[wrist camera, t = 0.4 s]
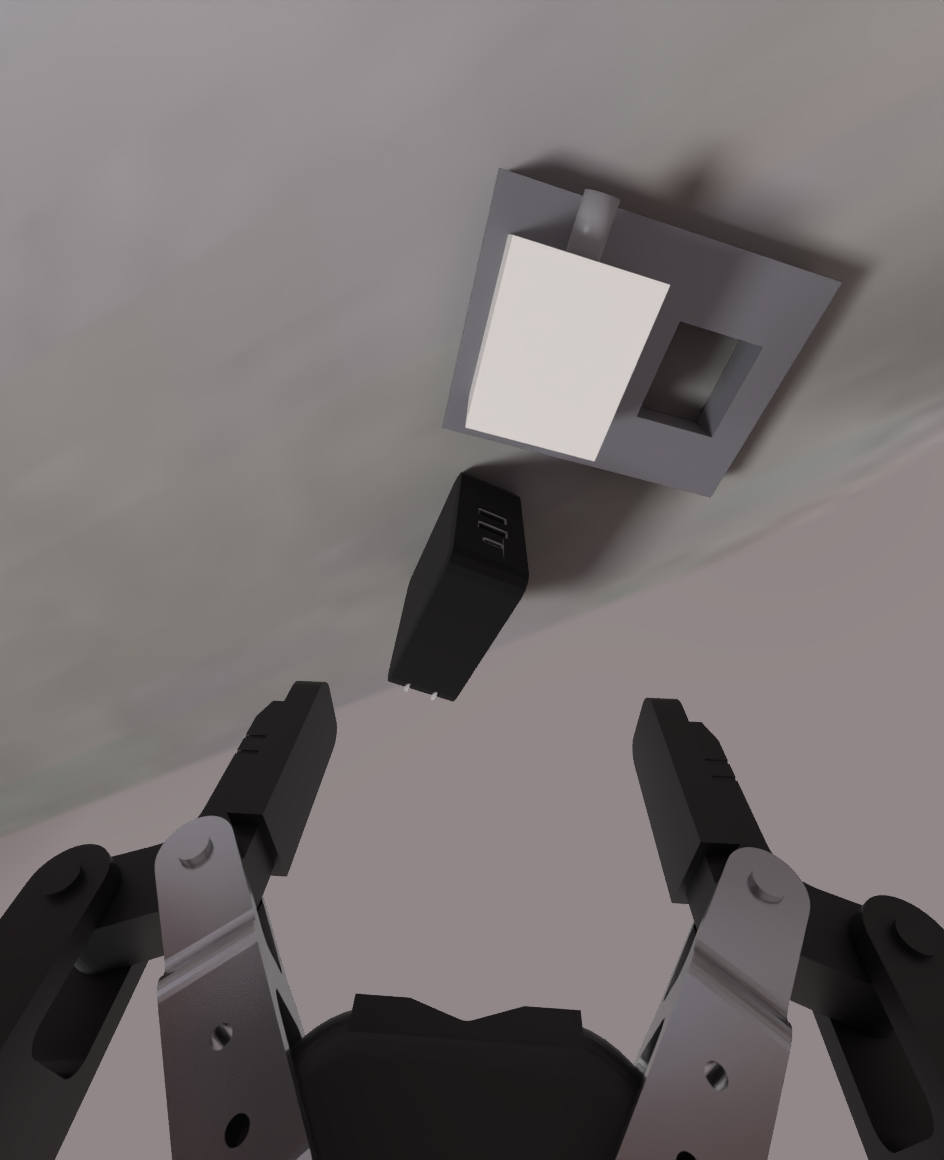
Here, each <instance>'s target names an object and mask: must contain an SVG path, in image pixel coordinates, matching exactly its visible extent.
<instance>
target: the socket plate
mask: <svg viewBox="0 0 944 1160" xmlns="http://www.w3.org/2000/svg"><path fill="white" fill-rule="evenodd" d="M582 197H583V196H582V195H579V194H576V193H573V192H570V191H567V190H564V189H561V188H558V187H555V186H552V185H549V184H546V183H543V182H540V181H537V180H534V179H531V178H528V177H525V176H522V175H519V174H516V173H513V172H511V171H508V170H505V169H502V168H499V170H498V175H497V179H496V184H495V188H494V193H493V198H492V202H491V207H490V211H489V216H488V220H487V225H486V230H485V234H484V239H483V243H482V248H481V252H480V257H479V262H478V266H477V271H476V275H475V280H474V284H473V289H472V294H471V298H470V303H469V307H468V312H467V316H466V321H465V326H464V330H463V335H462V339H461V344H460V348H459V353H458V358H457V362H456V367H455V371H454V376H453V380H452V385H451V390H450V394H449V399H448V403H447V408H446V412H445V417H444V422H443V426H442V428H446V429H450V430H454V431H457V432H461V433H465V434H469V435H473V436H477V437H480V438H484V439H488V440H492V441H496V442H500V443H503V444H507V445H511V446H515V447H519V448H522V449H526V450H530V451H534V452H538V453H542V454H545V455H549V456H553V457H557V458H561V459H565V460H568V461H572V462H576V463H580V464H584V465H588V466H591V467H595V468H599V469H603V470H607V471H611V472H614V473H618V474H622V475H626V476H630V477H633V478H637V479H641V480H645V481H649V482H653V483H656V484H660V485H664V486H668V487H672V488H676V489H679V490H683V491H687V492H691V493H695V494H699V495H702V496H706V497H710V498H711V496H712V495H713V493H714V491H715V490H716V488H717V486H718V485H719V483H720V482H721V480H722V478H723V477H724V475H725V473H726V472H727V470H728V468H729V467H730V465H731V464H732V462H733V460H734V459H735V457H736V455H737V454H738V452H739V450H740V449H741V447H742V446H743V444H744V442H745V441H746V439H747V437H748V436H749V434H750V432H751V431H752V429H753V428H754V426H755V424H756V423H757V421H758V419H759V418H760V416H761V414H762V413H763V411H764V410H765V408H766V406H767V405H768V403H769V401H770V400H771V398H772V396H773V395H774V393H775V392H776V390H777V388H778V387H779V385H780V383H781V382H782V380H783V378H784V377H785V375H786V374H787V372H788V370H789V369H790V367H791V365H792V364H793V362H794V360H795V359H796V357H797V356H798V354H799V352H800V351H801V349H802V347H803V346H804V344H805V342H806V341H807V339H808V338H809V336H810V334H811V333H812V331H813V329H814V328H815V326H816V324H817V323H818V321H819V320H820V318H821V316H822V315H823V313H824V311H825V310H826V308H827V306H828V305H829V303H830V302H831V300H832V298H833V297H834V295H835V293H836V292H837V290H838V288H839V287H840V285H841V284H842V282H839V281H836V280H833V279H830V278H827V277H824V276H821V275H818V274H815V273H812V272H809V271H806V270H803V269H800V268H797V267H794V266H791V265H788V264H785V263H782V262H779V261H776V260H773V259H770V258H767V257H764V256H761V255H758V254H755V253H752V252H749V251H746V250H743V249H740V248H737V247H734V246H731V245H728V244H725V243H722V242H720V241H717V240H714V239H711V238H708V237H705V236H702V235H699V234H696V233H693V232H690V231H687V230H684V229H681V228H678V227H675V226H672V225H669V224H666V223H663V222H660V221H657V220H654V219H651V218H648V217H645V216H642V215H639V214H636V213H633V212H630V211H627V210H624V209H621V208H618V209H617V212H616V215H615V218H614V221H613V223H612V226H611V229H610V232H609V235H608V238H607V241H606V244H605V247H604V250H603V252H602V255H601V258H600V261H599V262H600V263H603V264H606V265H609V266H612V267H616V268H619V269H622V270H625V271H628V272H631V273H634V274H638V275H641V276H644V277H647V278H650V279H653V280H656V281H660V282H663V283H666V284H669V285H670V287H669V289H668V292H667V294H666V296H665V299H664V301H663V303H662V306H661V308H660V310H659V313H658V315H657V317H656V319H655V322H654V324H653V326H652V329H651V331H650V333H649V336H648V338H647V340H646V343H645V345H644V347H643V350H642V352H641V354H640V357H639V359H638V361H637V364H636V366H635V368H634V371H633V373H632V375H631V378H630V380H629V382H628V385H627V387H626V389H625V392H624V394H623V396H622V399H621V401H620V403H619V406H618V408H617V410H616V413H615V415H614V417H613V420H612V422H611V424H610V427H609V429H608V431H607V434H606V436H605V438H604V441H603V443H602V445H601V448H600V450H599V452H598V455H597V457H596V459H595V461H591V460H587V459H583V458H579V457H576V456H572V455H568V454H564V453H560V452H557V451H553V450H549V449H545V448H541V447H538V446H534V445H530V444H526V443H522V442H519V441H515V440H511V439H507V438H503V437H500V436H496V435H492V434H488V433H484V432H481V431H477V430H473V429H469V428H465V425H466V417H467V409H468V400H469V394H470V390H471V386H472V381H473V377H474V373H475V369H476V365H477V361H478V357H479V353H480V349H481V344H482V340H483V336H484V332H485V328H486V324H487V320H488V316H489V311H490V307H491V303H492V299H493V295H494V291H495V287H496V283H497V279H498V274H499V270H500V266H501V262H502V258H503V254H504V250H505V246H506V241H507V237H508V234H511V235H515V236H518V237H521V238H524V239H528V240H531V241H534V242H537V243H540V244H543V245H546V246H550V247H553V248H556V249H559V250H562V251H565V252H566V249H567V246H568V243H569V239H570V236H571V233H572V230H573V226H574V223H575V220H576V217H577V213H578V210H579V207H580V203H581V200H582ZM680 321H681V322H684V323H687V324H690V325H693V326H697V327H700V328H703V329H706V330H710V331H713V332H716V333H719V334H723V335H726V336H729V337H732V338H736V339H739V340H740V341H739V343H738V345H737V347H736V349H735V351H734V352H733V354H732V356H731V358H730V360H729V362H728V364H727V365H726V367H725V369H724V371H723V373H722V375H721V377H720V379H719V380H718V382H717V384H716V386H715V388H714V390H713V392H712V393H711V395H710V397H709V399H708V401H707V403H706V405H705V407H704V408H703V410H702V412H701V414H700V416H699V418H698V420H697V422H692V421H689V420H685V419H682V418H678V417H675V416H671V415H667V414H664V413H660V412H657V411H653V410H650V409H646V408H643V407H641V406H642V403H643V401H644V399H645V397H646V395H647V392H648V390H649V388H650V386H651V384H652V382H653V379H654V377H655V375H656V373H657V371H658V368H659V366H660V364H661V362H662V360H663V357H664V355H665V353H666V351H667V349H668V347H669V344H670V342H671V340H672V338H673V336H674V333H675V331H676V329H677V327H678V325H679V322H680Z"/></svg>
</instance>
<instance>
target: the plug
mask: <svg viewBox="0 0 944 1160" xmlns="http://www.w3.org/2000/svg"><path fill="white" fill-rule="evenodd" d="M619 203H620V199H618V198H616V197H614V196H611V195H608V194H605V193H602V192H599V191H595V190H591V189H585V190H584V194H583V197H582V200H581V203H580V207H579V210H578V213H577V217H576V220H575V223H574V226H573V230H572V233H571V236H570V239H569V243H568V246H567V249H566V252H565V251H562V250H559V249H556V248H553V247H550V246H546V245H543V244H540V243H537V242H534V241H531V240H528V239H524V238H521V237H518V236H515V235H511V234H508V237H507V241H506V246H505V250H504V254H503V258H502V262H501V266H500V270H499V274H498V279H497V283H496V287H495V291H494V295H493V299H492V303H491V307H490V311H489V316H488V320H487V324H486V328H485V332H484V336H483V340H482V344H481V349H480V353H479V357H478V361H477V365H476V369H475V373H474V377H473V381H472V386H471V390H470V394H469V400H468V409H467V417H466V425H465V428H469V429H473V430H477V431H481V432H484V433H488V434H492V435H496V436H500V437H503V438H507V439H511V440H515V441H519V442H522V443H526V444H530V445H534V446H538V447H541V448H545V449H549V450H553V451H557V452H560V453H564V454H568V455H572V456H576V457H579V458H583V459H587V460H591V461H595V459H596V457H597V455H598V452H599V450H600V448H601V445H602V443H603V441H604V438H605V436H606V434H607V431H608V429H609V427H610V424H611V422H612V420H613V417H614V415H615V413H616V410H617V408H618V406H619V403H620V401H621V399H622V396H623V394H624V392H625V389H626V387H627V385H628V382H629V380H630V378H631V375H632V373H633V371H634V368H635V366H636V364H637V361H638V359H639V357H640V354H641V352H642V350H643V347H644V345H645V343H646V340H647V338H648V336H649V333H650V331H651V329H652V326H653V324H654V322H655V319H656V317H657V315H658V313H659V310H660V308H661V306H662V303H663V301H664V299H665V296H666V294H667V292H668V289H669V287H670V285H669V284H666V283H663V282H660V281H656V280H653V279H650V278H647V277H644V276H641V275H638V274H634V273H631V272H628V271H625V270H622V269H619V268H616V267H612V266H609V265H606V264H603V263H600V262H599V261H600V258H601V255H602V252H603V250H604V247H605V244H606V241H607V238H608V235H609V232H610V229H611V226H612V223H613V221H614V218H615V215H616V212H617V209H618V206H619Z"/></svg>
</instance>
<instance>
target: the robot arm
mask: <svg viewBox="0 0 944 1160" xmlns="http://www.w3.org/2000/svg"><path fill="white" fill-rule="evenodd" d="M336 734H337V723H336V718H335V713H334V708H333V703H332V698H331V694H330V689H329V685H328V683H326V682H312V681H296V682H295V683H294V684H293V686H292V688H291V689H290V691H289V693H288V695H287V697H286V699H285V701H273V702H271V703H270V704H269V705H268V706H267V707H266V708H265V709H264V710H263V711H262V712H260V713H259V714H258V715H257V716H256V718H255V719H254V721H253V723H252V725H251V727H250V728H249V730H248V732H247V734H246V738H244V739H243V741H242V742H241V744H240V746H239V748H238V749H237V750H238V752H237V753H236V754H235V755H234V757H233V758H232V760H231V762H230V764H229V765H228V767H227V769H226V771H225V773H224V774H223V776H222V778H221V780H220V781H219V783H218V785H217V787H216V788H215V790H214V792H213V794H212V796H211V797H210V799H209V801H208V803H207V804H206V806H205V808H204V809H203V811H202V813H201V814H200V815H199V817H198V818H196V819H194V820H192V821H189V822H188V823H186V824H184V825H182V826H181V827H180V828H178V829H177V830H176V831H174V832H173V833H172V834H171V835H170V836H169V837H168V838H167V839H166V841H165V842H164V843H162V844H159V845H155V846H152V847H148V848H144V849H140V850H137V851H132V852H129V853H125V854H121V855H117V856H113V857H111V856H110V855H109V853H108V852H107V851H106V849H105V848H103V847H101V846H99V845H94V844H87V845H80V846H76V847H73V848H70V849H68V850H66V851H64V852H62V853H60V854H58V855H57V856H55V857H53V858H52V859H51V860H49V861H48V862H47V863H45V864H44V865H43V866H42V867H41V868H39V869H38V870H37V871H36V872H35V873H34V874H33V876H32V877H31V878H30V879H29V881H28V882H27V883H26V885H25V886H24V887H23V889H22V890H21V891H20V893H19V894H18V895H17V897H16V898H15V900H14V901H13V902H12V904H11V905H10V906H9V908H8V909H7V910H6V912H5V913H4V915H3V916H2V917H1V919H0V1160H55V1158H56V1156H57V1154H58V1151H59V1149H60V1147H61V1145H62V1143H63V1141H64V1139H65V1137H66V1135H67V1133H68V1130H69V1128H70V1126H71V1124H72V1122H73V1120H74V1118H75V1116H76V1113H77V1111H78V1109H79V1107H80V1105H81V1103H82V1100H83V1099H84V1096H85V1094H86V1092H87V1090H88V1088H89V1086H90V1084H91V1082H92V1079H93V1077H94V1075H95V1073H96V1071H97V1068H98V1067H99V1065H100V1062H101V1060H102V1058H103V1056H104V1054H105V1051H106V1050H107V1048H108V1045H109V1043H110V1041H111V1039H112V1037H113V1035H114V1033H115V1030H116V1028H117V1026H118V1024H119V1022H120V1020H121V1018H122V1016H123V1014H124V1011H125V1009H126V1007H127V1005H128V1003H129V1001H130V999H131V997H132V994H133V992H134V990H135V988H136V986H137V984H138V982H139V979H140V977H141V975H142V973H143V971H144V969H145V967H146V965H147V963H148V960H151V959H154V958H157V957H160V956H164V960H165V973H164V975H163V976H162V977H161V978H160V979H159V981H158V987H157V1001H158V1013H159V1024H160V1034H161V1045H162V1056H163V1067H164V1077H165V1088H166V1098H167V1110H168V1120H169V1130H170V1141H171V1152H172V1160H767V1159H768V1154H769V1149H770V1144H771V1140H772V1135H773V1130H774V1125H775V1120H776V1116H777V1111H778V1106H779V1102H780V1097H781V1092H782V1087H783V1083H784V1078H785V1073H786V1068H787V1063H788V1059H789V1054H790V1048H791V1042H792V1026H791V1024H790V1023H789V1022H788V1021H787V1012H788V1006H789V1002H790V1000H791V1001H793V1002H795V1003H798V1004H800V1005H802V1006H805V1007H807V1008H809V1009H811V1010H812V1011H813V1013H814V1016H815V1019H816V1021H817V1024H818V1026H819V1029H820V1032H821V1035H822V1037H823V1040H824V1043H825V1045H826V1048H827V1051H828V1053H829V1056H830V1058H831V1061H832V1064H833V1067H834V1069H835V1072H836V1075H837V1077H838V1080H839V1082H840V1085H841V1087H842V1090H843V1093H844V1096H845V1098H846V1101H847V1104H848V1106H849V1109H850V1112H851V1114H852V1117H853V1120H854V1122H855V1125H856V1128H857V1130H858V1133H859V1136H860V1138H861V1141H862V1144H863V1146H864V1149H865V1152H866V1154H867V1157H868V1160H944V929H943V928H942V927H941V926H940V925H939V924H938V923H937V922H936V921H935V920H933V919H932V918H931V917H930V916H929V915H927V914H926V913H925V912H923V911H922V910H920V909H919V908H917V907H915V906H914V905H912V904H910V903H908V902H906V901H904V900H902V899H898V898H895V897H891V896H885V895H879V896H874V897H872V898H870V899H869V900H867V901H866V902H865V903H864V905H863V906H862V905H860V904H857V903H854V902H852V901H849V900H846V899H843V898H841V897H838V896H835V895H833V894H830V893H827V892H824V891H822V890H819V889H817V888H814V887H812V886H810V885H808V884H806V883H804V882H802V881H801V879H800V878H799V876H798V875H797V874H796V873H795V871H794V870H793V869H792V868H790V866H789V865H787V864H786V863H785V862H784V861H783V860H781V859H780V858H778V857H777V856H775V855H773V854H772V852H771V851H770V849H769V847H768V845H767V844H766V842H765V839H764V837H763V835H762V833H761V831H760V829H759V826H758V824H757V822H756V820H755V818H754V816H753V814H752V812H751V809H750V807H749V805H748V803H747V801H746V799H745V796H744V794H743V792H742V790H741V788H740V786H739V784H738V781H736V780H735V775H734V773H733V771H732V769H731V767H730V764H728V763H727V758H726V756H725V754H724V751H723V749H722V747H721V745H720V743H719V741H718V740H717V738H716V737H715V736H714V735H713V734H712V733H711V732H710V731H709V730H708V729H707V728H706V727H705V726H704V725H703V723H702V722H689V721H688V718H687V716H686V713H685V711H684V709H683V706H682V704H681V703H680V701H679V700H677V699H660V698H646V699H645V700H644V702H643V705H642V709H641V712H640V716H639V719H638V723H637V727H636V731H635V734H634V738H633V760H634V765H635V768H636V772H637V776H638V779H639V783H640V787H641V791H642V794H643V798H644V802H645V806H646V809H647V813H648V817H649V820H650V824H651V828H652V831H653V835H654V839H655V843H656V846H657V850H658V853H659V857H660V861H661V865H662V868H663V872H664V876H665V880H666V883H667V887H668V891H669V894H670V898H671V902H672V903H681V904H689V906H690V909H691V912H692V915H693V919H694V922H693V924H692V926H691V928H690V931H689V933H688V936H687V938H686V941H685V943H684V946H683V948H682V951H681V953H680V956H679V958H678V961H677V963H676V965H675V968H674V971H673V973H672V975H671V978H670V980H669V983H668V985H667V988H666V990H665V993H664V995H663V998H662V1000H661V1003H660V1005H659V1007H658V1010H657V1012H656V1014H655V1017H654V1019H653V1020H652V1023H651V1025H650V1027H649V1029H648V1031H647V1033H646V1036H645V1038H644V1040H643V1043H642V1045H641V1048H640V1050H639V1053H638V1055H637V1057H636V1060H635V1063H634V1065H633V1064H632V1063H631V1062H630V1061H629V1060H628V1059H627V1058H626V1057H625V1056H624V1055H623V1054H622V1053H621V1052H620V1051H619V1050H618V1049H617V1048H615V1047H614V1046H613V1045H611V1044H610V1043H609V1042H608V1041H606V1040H605V1039H603V1038H601V1037H600V1036H598V1035H597V1034H595V1033H593V1032H592V1031H590V1030H587V1029H585V1028H583V1027H582V1019H581V1011H580V1010H567V1009H555V1008H541V1007H527V1006H524V1007H520V1008H517V1009H513V1010H509V1011H505V1012H502V1013H498V1014H494V1015H491V1016H487V1017H483V1018H480V1019H476V1020H472V1021H463V1020H460V1019H457V1018H455V1017H453V1016H451V1015H448V1014H446V1013H444V1012H441V1011H439V1010H437V1009H435V1008H432V1007H430V1006H428V1005H425V1004H423V1003H420V1002H418V1001H416V1000H414V999H412V998H406V997H393V996H379V995H366V994H356V995H355V999H354V1004H353V1009H352V1010H351V1011H348V1012H345V1013H342V1014H340V1015H338V1016H335V1017H333V1018H331V1019H329V1020H327V1021H325V1022H324V1023H322V1024H320V1025H319V1026H317V1027H316V1028H314V1029H313V1030H312V1031H311V1032H309V1033H308V1034H307V1035H305V1034H304V1030H303V1027H302V1023H301V1020H300V1017H299V1014H298V1010H297V1007H296V1004H295V1002H294V999H293V996H292V993H291V990H290V987H289V985H288V982H287V978H286V975H285V971H284V968H283V964H282V961H281V957H280V954H279V950H278V946H277V943H276V940H275V936H274V932H273V929H272V925H271V921H270V918H269V915H268V911H267V907H266V904H265V901H264V897H263V893H264V891H265V888H266V885H267V883H268V880H269V878H270V875H272V876H287V874H288V871H289V869H290V866H291V864H292V861H293V858H294V855H295V853H296V850H297V847H298V844H299V841H300V839H301V836H302V833H303V831H304V828H305V825H306V822H307V819H308V817H309V814H310V811H311V808H312V805H313V803H314V800H315V797H316V795H317V792H318V789H319V786H320V784H321V781H322V778H323V776H324V773H325V770H326V767H327V765H328V762H329V759H330V756H331V753H332V751H333V748H334V745H335V740H336Z"/></svg>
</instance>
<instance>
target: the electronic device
mask: <svg viewBox="0 0 944 1160" xmlns="http://www.w3.org/2000/svg"><path fill="white" fill-rule="evenodd" d="M528 577H529V571H528V562H527V554H526V545H525V536H524V527H523V519H522V510H521V501H520V497H519V496H516V495H514V494H512V493H509V492H507V491H505V490H502V489H500V488H497V487H495V486H493V485H490V484H488V483H486V482H483V481H481V480H479V479H476V478H474V477H472V476H469V475H467V474H465V473H462V472H461V473H460V474H459V476H458V477H457V479H456V481H455V483H454V485H453V487H452V489H451V492H450V494H449V496H448V498H447V500H446V503H445V505H444V507H443V509H442V511H441V514H440V516H439V518H438V520H437V522H436V525H435V527H434V529H433V531H432V533H431V536H430V538H429V540H428V542H427V544H426V547H425V549H424V551H423V553H422V555H421V558H420V560H419V562H418V564H417V566H416V569H415V571H414V573H413V575H412V577H411V580H410V583H409V586H408V590H407V594H406V598H405V603H404V607H403V612H402V616H401V620H400V625H399V629H398V633H397V638H396V642H395V647H394V651H393V655H392V660H391V664H390V668H389V674H388V681H389V682H392V683H395V684H398V685H402V686H405V687H404V691H408V689H409V687H410V688H411V689H415V690H418V691H421V692H424V693H427V694H431V699H432V700H434V699H435V697H436V696H438V697H440V698H444V699H447V700H450V701H454V700H455V699H456V698H457V696H458V695H459V694H460V692H461V691H462V689H463V687H464V686H465V684H466V683H467V681H468V680H469V678H470V677H471V675H472V674H473V672H474V670H475V668H476V667H477V666H478V664H479V663H480V661H481V660H482V658H483V657H484V655H485V654H486V652H487V650H488V649H489V647H490V646H491V644H492V643H493V641H494V640H495V638H496V637H497V635H498V633H499V632H500V630H501V629H502V627H503V626H504V624H505V623H506V621H507V620H508V618H509V617H510V615H511V613H512V612H513V610H514V609H515V607H516V606H517V604H518V603H519V601H520V600H521V598H522V596H523V594H524V592H525V590H526V586H527V583H528Z"/></svg>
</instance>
